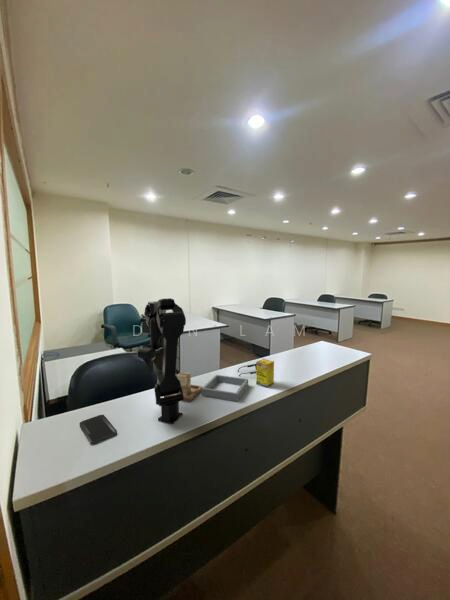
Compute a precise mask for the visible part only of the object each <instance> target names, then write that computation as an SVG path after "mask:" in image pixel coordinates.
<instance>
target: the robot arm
mask: <svg viewBox="0 0 450 600" xmlns="http://www.w3.org/2000/svg"><path fill="white" fill-rule="evenodd" d="M167 311H171V312H167ZM143 312H144V314H143V315H144V316H145V317H146V319H145V323H146V325H147V326H148V327H149V334H147V337H148V338H149V339H150V340H149V341H150V343H148V345H147V346H148V347H142V348H140V349H138V351H137V355H136V356H137V357H138V358H140V359H142V361H143V362H144V364H145V366H146V367H147V368H148V370H149V372H150V373H153V372H154V360H155V358H156V357H157V356H156V354H157V351H159V352H160V353H159V354H160V356H161V361H162V372H158V373H157V380H156V381H157V382H156V384H155V385H154V396H155V397H154V398H155V405H157V406H159V407H160V410H161V413H160V414H161V415H160V417H158V418H157V421H158V422H164V423H168V424H171V425H172V424H173V425H174V424H175V423H176V422H177V421H178V420H179V419H180V418H181V417H182V416H183V414H184V413H183V412H180V402H184V401H183V398H184V396H183V392H182V388H181V383H180V380H179V379H178V376H177V371H176V370H177V362H178V361H177V358H178V346H179V339H180V337H181V336H182V335H183V334H184V330H185V326H186V323H187V320H186V315H185V313H184V310H183V308H182V307H181V306H180V305H178V304H177V303H176V301H175V300H174V298H160V299H158V301H157V300H156V301H147V304H146V305H145V306H144V311H143ZM177 393H178V394H177ZM172 394H177V395H173V396H168V395H172ZM164 396H168V397H164Z"/></svg>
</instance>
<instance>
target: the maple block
mask: <svg viewBox="0 0 450 600" xmlns="http://www.w3.org/2000/svg"><path fill="white" fill-rule="evenodd" d="M176 374H177V373H176ZM191 375H192V374H191V372H186V371H180V372H179V373H178V374H177V376H178V379H179V380H180V383H181V388H182V392H183V395H187V394H188V393H189V392H190V391H191V385H192V384H191V383H192V382H191V381H192V380H191V378H192V377H191ZM177 394H178V393H177Z"/></svg>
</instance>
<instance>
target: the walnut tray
mask: <svg viewBox="0 0 450 600" xmlns="http://www.w3.org/2000/svg"><path fill="white" fill-rule="evenodd" d="M202 388H203V386H202V385H195V384H191V391H190V392H189V393H188V394H187V395H183V396H184V398H183V401H182V402H187V403H190V402H191V401H192V400H193V399H195V398H196V397H197V395H199V394H200V393H202ZM173 395H177V394H172V395H168V396H173ZM168 396H163V398H164V397H168Z"/></svg>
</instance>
